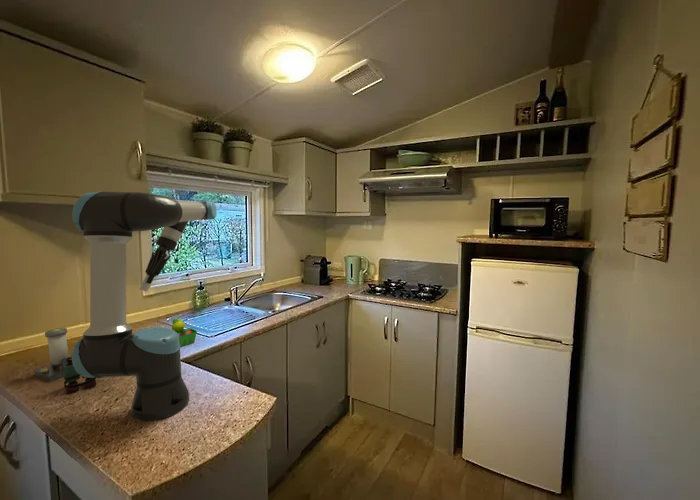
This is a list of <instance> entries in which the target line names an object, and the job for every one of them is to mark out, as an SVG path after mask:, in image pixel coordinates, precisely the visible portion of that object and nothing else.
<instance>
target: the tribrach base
mask: <svg viewBox="0 0 700 500" xmlns="http://www.w3.org/2000/svg"><path fill="white" fill-rule="evenodd" d="M66 364H68V362H67V361H66V359H63V360H61V364H56V365H52V364H51V363H50V364H48V365H45V366H42V367H38V368H35V369H33V373H34V376H36V377H37V378H39V379H40V378H41V379H42V380H45V381H47V382H50V383H51V382H54V381H57V380H59V379H63V378H64V376H65V370H64V367H65V365H66Z"/></svg>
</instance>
